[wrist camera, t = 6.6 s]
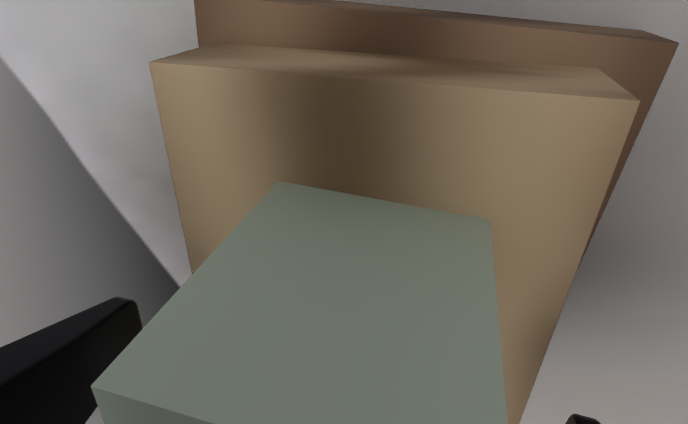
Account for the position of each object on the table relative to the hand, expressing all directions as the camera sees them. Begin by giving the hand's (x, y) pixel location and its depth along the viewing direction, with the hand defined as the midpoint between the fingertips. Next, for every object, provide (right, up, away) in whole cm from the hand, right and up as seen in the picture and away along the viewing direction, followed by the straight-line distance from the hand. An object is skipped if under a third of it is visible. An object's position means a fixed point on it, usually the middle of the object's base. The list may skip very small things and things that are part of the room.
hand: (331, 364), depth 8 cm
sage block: (+1, +1, +3) cm, 3 cm away
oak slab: (+1, +3, +5) cm, 6 cm away
